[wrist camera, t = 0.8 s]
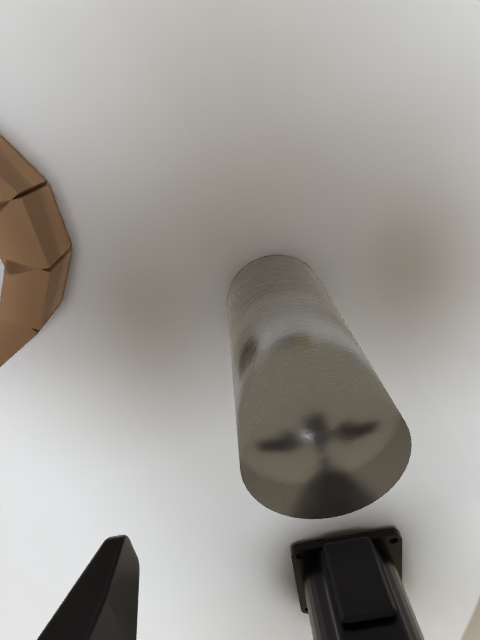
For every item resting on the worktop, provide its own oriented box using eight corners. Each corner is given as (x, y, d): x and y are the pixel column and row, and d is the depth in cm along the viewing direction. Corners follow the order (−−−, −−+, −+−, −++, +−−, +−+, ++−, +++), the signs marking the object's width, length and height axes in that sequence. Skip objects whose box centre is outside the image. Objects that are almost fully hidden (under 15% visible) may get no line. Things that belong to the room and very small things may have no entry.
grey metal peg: (325, 333, 19) (410, 504, 11) (236, 349, 19) (254, 530, 11) (317, 246, 17) (413, 375, 9) (219, 264, 17) (225, 408, 9)
